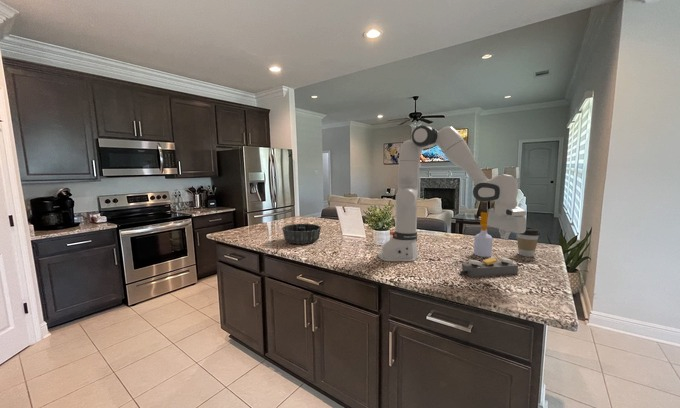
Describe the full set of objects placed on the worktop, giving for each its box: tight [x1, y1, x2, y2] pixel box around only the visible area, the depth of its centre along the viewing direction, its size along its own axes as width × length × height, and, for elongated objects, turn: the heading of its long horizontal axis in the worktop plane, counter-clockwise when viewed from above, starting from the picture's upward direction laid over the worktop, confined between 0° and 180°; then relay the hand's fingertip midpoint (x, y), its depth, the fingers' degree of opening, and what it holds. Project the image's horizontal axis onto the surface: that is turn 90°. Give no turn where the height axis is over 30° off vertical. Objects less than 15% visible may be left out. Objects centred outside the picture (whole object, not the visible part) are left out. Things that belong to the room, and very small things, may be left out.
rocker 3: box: [497, 256, 514, 263], centre depth 134 cm, size 5×3×1 cm, turn 101°
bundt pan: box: [281, 223, 322, 245], centre depth 194 cm, size 26×26×10 cm
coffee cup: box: [516, 226, 541, 258], centre depth 161 cm, size 11×11×15 cm
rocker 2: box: [482, 257, 498, 265], centre depth 133 cm, size 5×3×1 cm, turn 101°
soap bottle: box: [473, 211, 493, 258], centre depth 160 cm, size 9×9×25 cm
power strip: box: [459, 260, 519, 278], centre depth 133 cm, size 27×7×5 cm, turn 101°
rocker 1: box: [467, 259, 483, 265], centre depth 132 cm, size 5×3×1 cm, turn 101°
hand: (504, 239), depth 132 cm, fingers closed
